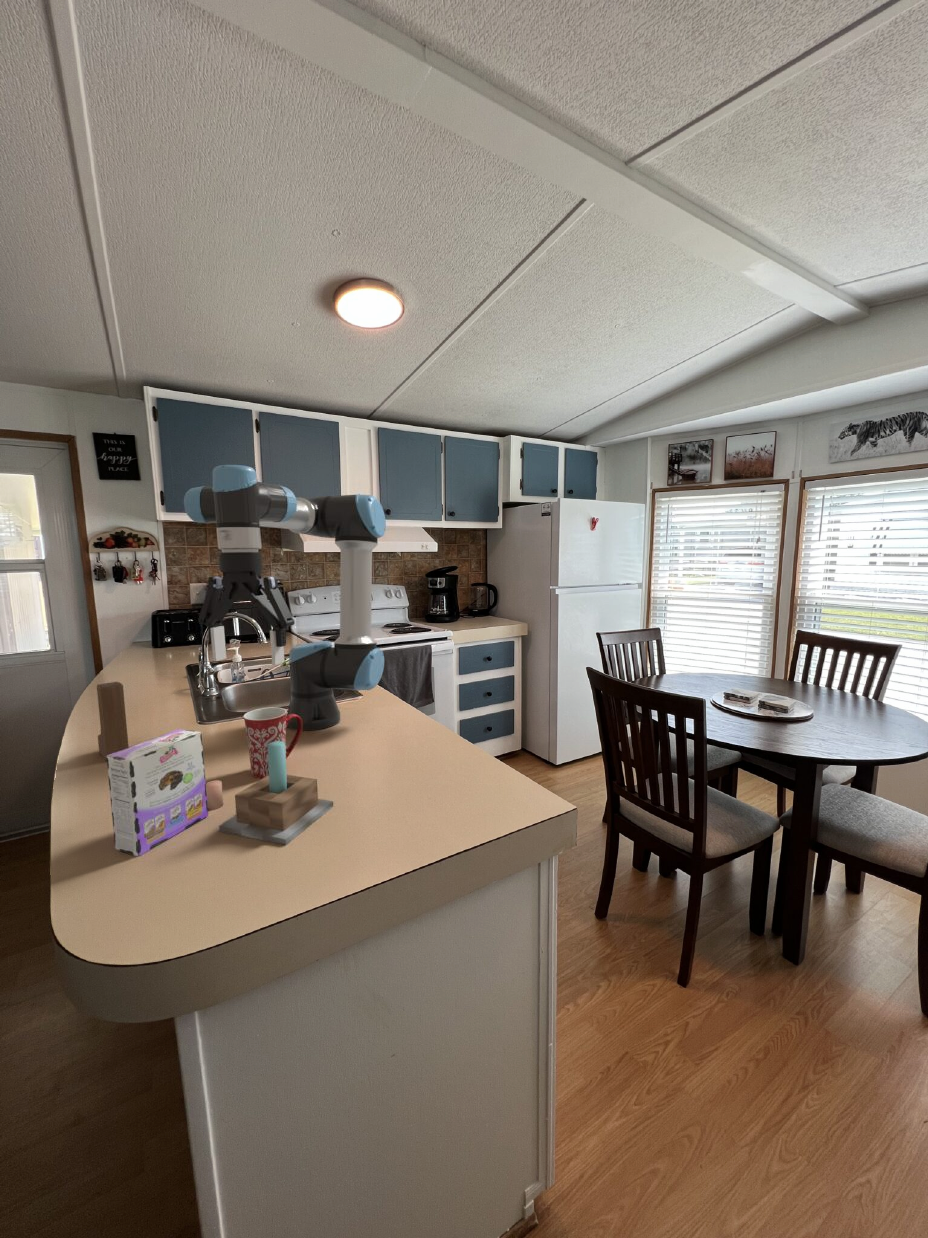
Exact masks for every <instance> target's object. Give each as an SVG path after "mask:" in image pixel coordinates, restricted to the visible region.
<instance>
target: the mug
mask: <svg viewBox="0 0 928 1238" xmlns="http://www.w3.org/2000/svg"><path fill="white" fill-rule="evenodd" d="M287 712H288V709H285V708H282V707H275V706H274V707H271V706H270V707H262V708H258V709H257V708H256V709H253V710H250V711H248V712H246V713H244V715H243V716H242V718H243V720H244V724H245V732H246V739H247V748H248V755H249V762H250V770H251V775H252V776H253V777H254V778H259V779H263V778H265V777H266V776H268V775H269V767H268V744H269V743H271V742H276V741H283V742H285V751H286V760H287V759H288V757H289V756H290V754H291V753H292V751H293V750H294V748H295V747H296V745H297V743H298V741H299V740H300V737H301V735H302V732H303V730H302V719H301V718H300V717H299V716H298V715H296V714H290V715H288V716H286V715H287ZM293 718H296V720H297V730H296V729H295V733H294V736H293V738H292V740H291V741H290V743H289V745H288V746H287V728H288V727H287V726H288V723H289V721H290V720H291V719H293Z"/></svg>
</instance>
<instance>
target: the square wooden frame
mask: <svg viewBox="0 0 928 1238" xmlns="http://www.w3.org/2000/svg"><path fill="white" fill-rule="evenodd" d="M286 776H287V789H286V790H285V791H283V792H282V793H280V794H277V793H271V792H270V789H269V775H268V776H266V777H265V778H260V780H258V781H257V782H255V783H252V784H251V785H249V786H248V787H246V788H245V789H243V790H242V791H239V792H237V793H236V794H235V795H234V799H235V800H234V802H235V803H234V804H235V813H236V814H235V815H234V816H232V817H230V818H229V819H228V820H226V821H224V822H223V823H221V824H220V825H218V829H219V832H223V833H228V834H232V835H237V836H241V837H247V838H252V839H255V840H260V841H266V842H270V843H274V844H279V845H284V846H287V845H288V844H290V843H291V842H292V841H293V840H294V839H295V838H297V837H298V836H299V835H300V834H301V833H303V832H304V831H305V830H306V829H307V828H309V827H310V826H312V824H313V823H315V822H316V821H318V819H320V818H321V817H322V816H323V815H325V814H326V813H327V812H328V811H330V810H331V809H332V808H334V801H333V800H327V799H323V798H319V796H318V795H319V793H318V791H319V790H318V779H316V778H312V777H311V778H310V777H304V776H298V775H293V774H292V775H291V774H286Z"/></svg>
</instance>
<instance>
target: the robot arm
mask: <svg viewBox="0 0 928 1238" xmlns="http://www.w3.org/2000/svg"><path fill="white" fill-rule="evenodd" d="M183 505H184V508H183V509H184V511H185V513H186V515H187V516H188V518H189V519H191V521H193V522H194V523H198V524H199V523H200V524H207V525H209V524H215V526H216V527H215V528H216V538H217V539H216V540H217V549H219V550H221V552H219V554H218V565H219V566H218V567H219V572H221V573H222V576H220V575H218V576H217V575H216V576H209V577H208V579H207V581H208V582H207V583H208V585H207V591H206V593H205V597H204V600H203V603H202V606H201V609H200V613H199V616H198V619H197V621H198V624H199V625H204V626H205V627H206V628H207V631H208V641H209V644H211V651H212V661H213V662H218V661H222V660H225V659H227V651H226V649H227V648H226V635H225V626H224V625H223V623H222V622H223V620H224V619H225V617H226V615H227V613H228V612H230V610H231V607H232V606H233V604H234V603H235V602H237V601H243V602H248V601H250V603H252V604H254V605H255V606H256V608H257V609H258V610H259V611H260V613H261V615H262V616H263V617H264V618H265V620H266V621H267V622H268V623H269V625H270V626H271V627H272V629H271V630H269V639H270V642H269V643H270V654H271V665H272V666H277V665H279V664H282V663H285V650H284V648H285V646H286V645H287V635H286V633H287V632H286V630H287V629H288V628H289V627H292V626H295V624H296V622H295V619H294V617H293V616H292V615H293V614H292V613H291V611H290V609H289V607H288V605H287V603H286V601H285V599H284V597H283V595H282V593H281V591H280V589H279V584H278V578H277V577H276V576H265V577H264V578H263V576H262V571H263V569H264V567H263V554H262V553H261V552H260V551H259V550H261V549H262V538H261V537H262V536H261V528H260V527H262V528H263V527H264V528H275V529H276V528H277V529H286V530H287V529H288V530H289V531H290V532H292V533H295V534H299V535H301V534H302V535H307V536H311V537H313V536H314V537H319V538H328V539H334V544H335V545H336V546H337V547H338V548H339V550H340V572H339V573H340V575H339V577H340V578H339V582H340V583H339V585H340V586H339V587H340V590H339V594H340V595H339V598H340V599H339V600H340V601H339V603H340V604H339V635H338V637H337V638H336V639H335V641H333V642H334V646H333V644H332V642H331V641H330V640H325V641H324V640H323V641H322V640H321V641H316V642H315V641H314V642H308V643H303V644H299V645H296V646H293V647H292V648H291V649H290V650H289V662H288V664H289V675H290V676H289V678H290V680H289V681H290V692H291V693H290V694H291V695H290V697H291V698H290V702H289V704H288V705H289V706H288V708H287V714H286V716H288V715H290V714H296V715H298V716H299V717H300V718H301V719H302V731H315V730H321V729H326V728H329V727H333V726H335V725H337V724H338V723H340V721H341V711H340V709H339V706H338V703H337V701H336V698H335V695H334V689H337V690H349V691H350V690H353V691H356V692H359V691H370V690H373V689H374V688H375V687H377V685H378V684H379V682H380V681H381V678H382V676H383V672H384V668H385V656H384V652H383V650H381V649H380V648H378V647H377V645H378V644H377V640H376V639H374V637H373V636H372V596H373V595H372V589H373V588H372V586H373V584H372V582H373V580H372V579H373V575H372V572H373V571H372V570H373V550H374V549H375V548H376V547H377V546H378V545H379V544H378V538H379V539H380V538H382V537H384V535H385V533H386V526H387V525H386V524H387V523H386V517H385V511H384V508H383V505H382V504H381V502H380V501H379V499H378V498H377V497H375V496H374V495H371V494H360V493H357V494H345V495H325V496H316V497H315V496H313V497H305V498H304V497H296V495H295V494H294V491H292V490H291V489H289V488H288V487H285V486H283V485H280V484H279V483H277V484H273V483H267V482H261V481H258V477H257V472H256V470H255V469H254V468H253V467H251V466H247V465H242V464H241V465H239V464H222V465H218V466H216V467H214V468H213V469H212V485H211V486H209V485H208V486H206V485H202V486H198V487H192V488H190V489H189V490H187V491H186V492H185V494H184V497H183ZM262 588H263V589H264V591H263V589H262ZM223 589H224V591H223ZM287 728H289V729H292V730H295V731H296V730H297V720H296V718H293V719H291V720H290V721H289V723H288V726H287Z"/></svg>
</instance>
